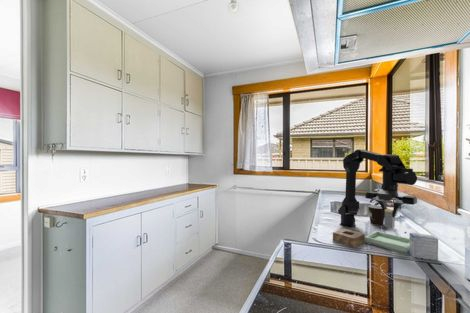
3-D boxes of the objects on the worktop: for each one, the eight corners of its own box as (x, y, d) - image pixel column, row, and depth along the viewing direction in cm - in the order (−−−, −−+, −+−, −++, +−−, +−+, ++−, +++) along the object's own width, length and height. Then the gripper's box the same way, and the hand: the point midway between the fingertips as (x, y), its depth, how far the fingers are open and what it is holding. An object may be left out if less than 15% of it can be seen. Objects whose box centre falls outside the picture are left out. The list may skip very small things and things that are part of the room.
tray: (364, 242, 105) (364, 236, 105) (376, 235, 114) (376, 230, 114) (406, 254, 93) (406, 247, 92) (415, 245, 101) (415, 240, 101)
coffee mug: (368, 220, 140) (368, 204, 140) (384, 223, 135) (384, 206, 135) (368, 225, 129) (368, 208, 129) (386, 228, 125) (386, 210, 125)
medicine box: (432, 256, 91) (432, 234, 91) (438, 261, 86) (438, 238, 86) (409, 253, 93) (409, 232, 93) (413, 258, 89) (413, 236, 89)
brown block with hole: (332, 240, 107) (332, 232, 107) (342, 236, 113) (343, 228, 113) (354, 247, 99) (354, 238, 99) (364, 242, 105) (364, 233, 105)
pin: (384, 226, 103) (384, 209, 103) (386, 225, 105) (387, 208, 105) (392, 228, 101) (392, 210, 101) (394, 227, 103) (394, 209, 103)
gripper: (360, 181, 105) (360, 215, 105) (409, 185, 91) (409, 224, 91) (370, 180, 112) (370, 211, 112) (417, 183, 98) (417, 219, 98)
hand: (389, 216), depth 103 cm, fingers closed on pin, 3 cm apart
